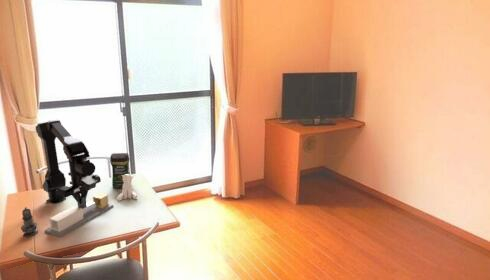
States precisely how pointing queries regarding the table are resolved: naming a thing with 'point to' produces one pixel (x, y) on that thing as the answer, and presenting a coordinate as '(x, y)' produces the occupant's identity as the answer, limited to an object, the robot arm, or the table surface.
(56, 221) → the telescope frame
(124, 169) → the coffee jar
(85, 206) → the steel t-shaped block
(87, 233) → the table surface
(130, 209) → the table surface
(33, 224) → the dark grey statuette
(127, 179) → the seated beast figurine
